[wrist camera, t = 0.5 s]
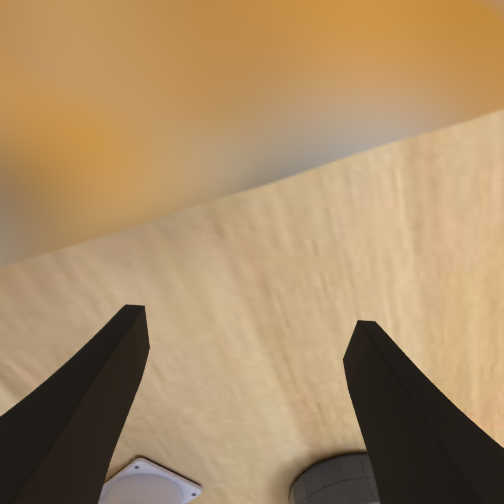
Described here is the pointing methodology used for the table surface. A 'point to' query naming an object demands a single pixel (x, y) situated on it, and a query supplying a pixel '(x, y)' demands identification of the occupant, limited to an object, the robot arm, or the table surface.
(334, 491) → the basin
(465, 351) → the table surface
